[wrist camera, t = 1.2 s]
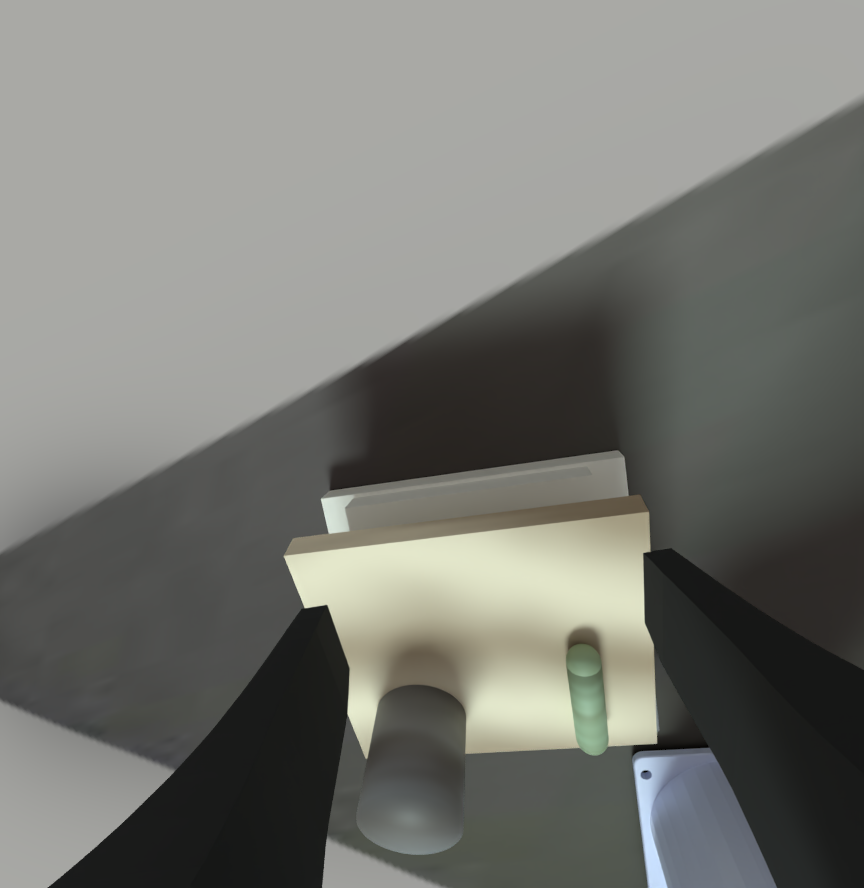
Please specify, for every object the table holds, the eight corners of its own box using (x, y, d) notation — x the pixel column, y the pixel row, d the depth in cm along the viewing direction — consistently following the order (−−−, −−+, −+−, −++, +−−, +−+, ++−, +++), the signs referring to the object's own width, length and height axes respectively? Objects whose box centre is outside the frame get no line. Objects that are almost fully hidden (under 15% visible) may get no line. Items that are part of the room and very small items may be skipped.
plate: (650, 726, 22) (694, 867, 17) (372, 742, 24) (347, 872, 19) (640, 494, 17) (697, 605, 12) (293, 538, 19) (235, 648, 14)
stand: (644, 688, 24) (662, 731, 22) (378, 706, 27) (365, 747, 24) (617, 450, 22) (633, 466, 20) (329, 490, 24) (308, 510, 22)
